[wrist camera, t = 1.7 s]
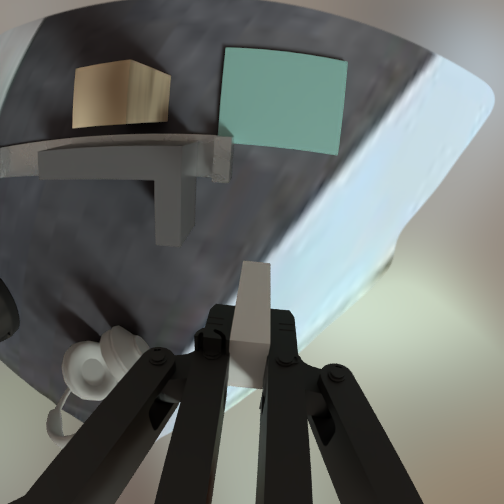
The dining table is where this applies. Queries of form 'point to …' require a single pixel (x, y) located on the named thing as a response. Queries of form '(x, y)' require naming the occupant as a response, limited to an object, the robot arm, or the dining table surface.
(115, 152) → the grey l-shaped block
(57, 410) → the headphones
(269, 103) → the pad
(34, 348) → the dining table surface
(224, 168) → the rail
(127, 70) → the beech block
